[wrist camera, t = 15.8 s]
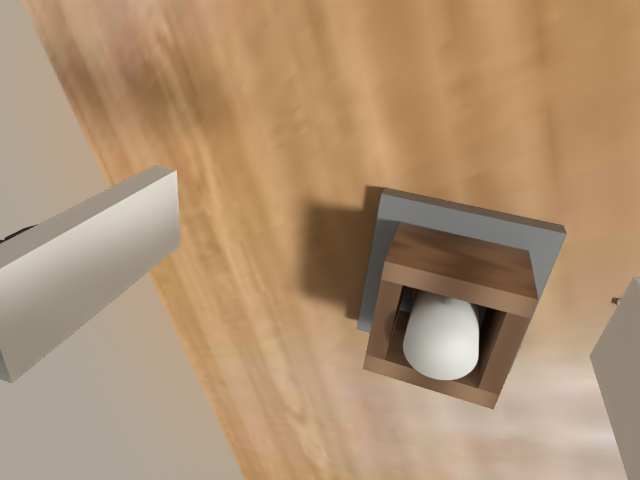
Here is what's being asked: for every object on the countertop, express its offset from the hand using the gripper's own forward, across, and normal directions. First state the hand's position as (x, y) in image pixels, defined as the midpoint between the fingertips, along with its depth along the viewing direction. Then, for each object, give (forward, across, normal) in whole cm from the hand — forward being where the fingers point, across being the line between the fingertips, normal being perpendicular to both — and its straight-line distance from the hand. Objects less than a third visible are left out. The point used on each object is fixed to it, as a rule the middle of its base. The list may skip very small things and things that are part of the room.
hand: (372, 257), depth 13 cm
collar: (+22, +4, -14) cm, 27 cm away
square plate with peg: (+24, +4, -14) cm, 28 cm away
